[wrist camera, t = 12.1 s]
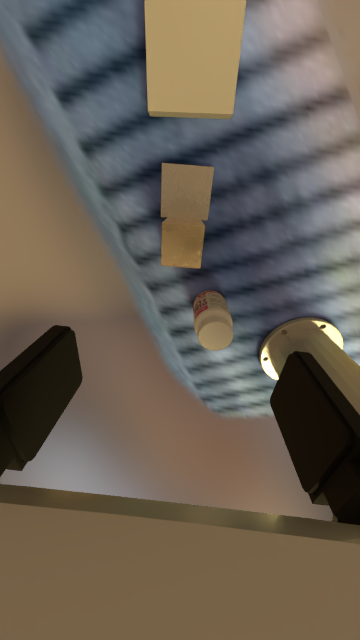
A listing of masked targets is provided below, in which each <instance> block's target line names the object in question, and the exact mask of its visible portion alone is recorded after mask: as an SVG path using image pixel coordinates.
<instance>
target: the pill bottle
mask: <svg viewBox="0 0 360 640" xmlns="http://www.w3.org/2000/svg"><path fill="white" fill-rule="evenodd" d="M193 311H194V328H195V331H196V333H197V335H198V340H199V342H200V344H201V345H202V346H203V347H204V348H206V349H208V350H221V349H223V348H225V347H227V346H228V345H229V344H230V343H231V341H232V339H233V331H232V327H233V322H232V318H231V315H230V313H229V310H228V307H227V304H226V301H225V299H224V297H223V296H222V295H221V294H220V293H218V292H216V291H211V290H210V291H204V292H202V293H200V294H199V295H198V296H197V297H196V299H195V300H194V304H193Z"/></svg>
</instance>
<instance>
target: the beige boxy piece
mask: <svg viewBox="0 0 360 640" xmlns="http://www.w3.org/2000/svg"><path fill="white" fill-rule="evenodd" d="M213 173H214V167H207V166H195V165H182V164H170V163H162V183H161V217H167V218H166V219H165V220H164V221H163V222H162V249H161V266H173V267H187V268H200V266H201V257H202V249H203V240H204V232H205V225H204V224H203V222H202V221H201V220H207V221H208V214H209V206H210V198H211V190H212V181H213Z"/></svg>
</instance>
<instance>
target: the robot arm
mask: <svg viewBox="0 0 360 640" xmlns="http://www.w3.org/2000/svg"><path fill="white" fill-rule="evenodd" d="M342 349H343V338H342V335H341V333H340V332H339V330H338V329H337V328H336V327H335V326H333V325H332V324H331V323H329V322H328V321H326V320H323V319H320V318H313V317H306V318H299V319H294V320H291V321H288V322H286V323H284V324H282V325H280V326H278V327H277V328H276V329H274V330H273V331H272V332H271V333H270V334H269V335H268V336H267V337H266V338H265V340H264V341H263V343H262V345H261V347H260V351H259V361H260V363H261V366H262V368H263V370H264V371H265V372H266V373H267V375H269V376H270V377H272V378H274V379H276V380H278V381H277V383H276V386H275V388H274V390H273V393H272V395H271V398H270V404H271V407H272V410H273V413H274V415H275V418H276V420H277V423H278V425H279V428H280V430H281V433H282V436H283V438H284V441H285V444H286V446H287V449H288V451H289V454H290V456H291V459H292V462H293V464H294V467H295V470H296V472H297V475H298V477H299V480H300V483H301V485H302V487H303V489H304V491H305V492H307V493H308V494H309V496H310V499H311V501H312V504H319V505H329V506H330V508H331V510H332V513H333V517H332V521H331V522H330V521H323V520H316V519H309V518H301V517H292V516H284V515H275V514H267V513H258V512H250V511H242V510H234V509H225V508H217V507H208V506H199V505H190V504H181V503H173V502H164V501H155V500H145V499H137V498H128V497H120V496H110V495H101V494H91V493H82V492H72V491H64V490H54V489H45V488H36V487H27V486H16V485H15V486H14V485H4V484H0V640H360V366H359V365H358V364H357V363H356V362H355V361H354V360H353V359H352V358H351V357H350V356H348V355H347V354H346V353H345V352H344V351H343V350H342ZM81 382H82V372H81V366H80V360H79V354H78V349H77V343H76V337H75V332H74V331H73V330H71V328H70V327H68V326H58V325H55V326H53V327H51V328H50V329H49V330H48V331H47V332H45V333H44V334H43V335H42V336H41V337H40V338H38V339H37V340H36V341H35V342H34V343H33V344H32V345H30V346H29V347H28V348H27V349H26V350H24V351H23V352H22V353H21V354H20V355H19V356H18V357H16V358H15V359H14V360H13V361H12V362H10V363H9V364H8V365H7V366H6V367H4V368H3V369H2V370H1V371H0V476H1V475H2V474H3V472H4V471H5V469H9V470H18V471H22V470H23V468H24V466H25V465H26V463H27V462H28V461H31V460H32V459H33V458H34V457H35V456H36V454H37V452H38V451H39V449H40V448H41V446H42V445H43V443H44V442H45V440H46V438H47V437H48V435H49V434H50V432H51V430H52V429H53V427H54V426H55V424H56V422H57V421H58V419H59V418H60V416H61V415H62V413H63V412H64V410H65V408H66V407H67V405H68V404H69V402H70V400H71V399H72V397H73V395H74V394H75V393H76V391H77V389H78V388H79V386H80V384H81Z"/></svg>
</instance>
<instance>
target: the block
mask: <svg viewBox="0 0 360 640" xmlns="http://www.w3.org/2000/svg"><path fill="white" fill-rule="evenodd" d="M245 7H246V0H145V32H146V65H147V98H148V112H149V115H150V116H159V117H186V118H212V119H230V118H231V117H232V115H233V109H234V101H235V92H236V84H237V75H238V67H239V58H240V50H241V41H242V33H243V24H244V16H245Z"/></svg>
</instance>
